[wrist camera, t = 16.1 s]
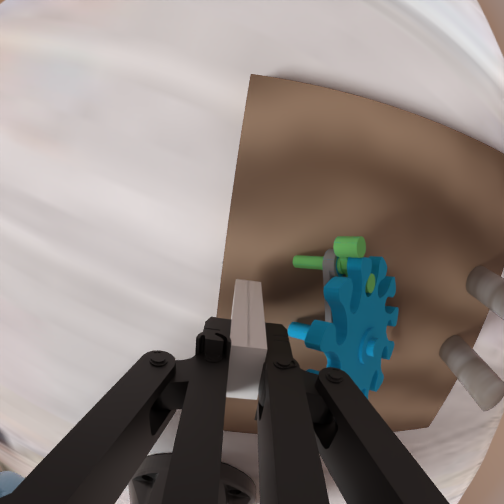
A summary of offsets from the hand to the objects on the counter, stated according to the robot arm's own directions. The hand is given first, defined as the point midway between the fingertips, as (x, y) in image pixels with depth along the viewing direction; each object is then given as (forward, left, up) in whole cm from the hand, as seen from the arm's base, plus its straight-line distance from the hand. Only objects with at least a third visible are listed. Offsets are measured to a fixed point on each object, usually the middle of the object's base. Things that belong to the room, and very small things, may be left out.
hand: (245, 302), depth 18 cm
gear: (0, -6, -2) cm, 7 cm away
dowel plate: (0, -9, -4) cm, 10 cm away
